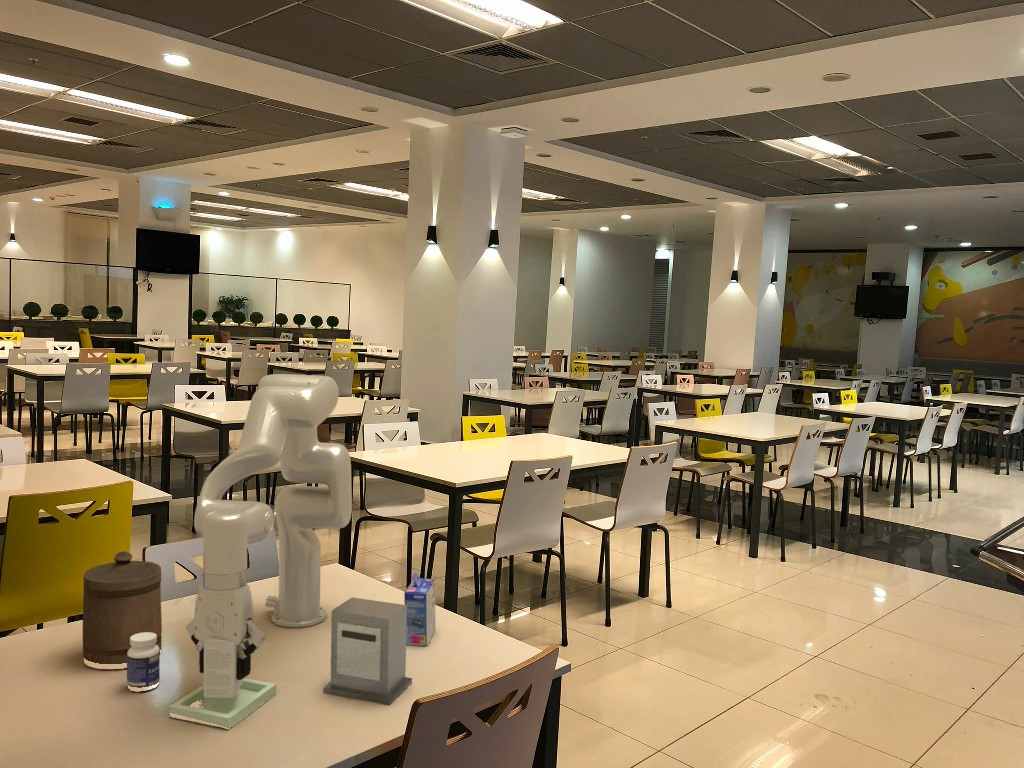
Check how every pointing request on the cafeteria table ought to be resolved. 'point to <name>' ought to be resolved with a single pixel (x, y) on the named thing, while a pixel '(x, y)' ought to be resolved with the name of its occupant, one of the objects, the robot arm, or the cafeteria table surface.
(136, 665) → the pill bottle
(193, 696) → the tray
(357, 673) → the dispenser unit
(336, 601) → the cafeteria table surface
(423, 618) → the ink cartridge box
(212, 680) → the small box
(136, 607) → the wooden container
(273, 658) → the cafeteria table surface
